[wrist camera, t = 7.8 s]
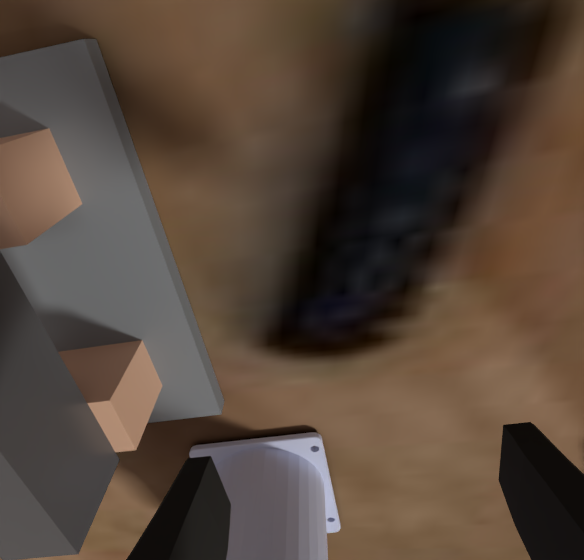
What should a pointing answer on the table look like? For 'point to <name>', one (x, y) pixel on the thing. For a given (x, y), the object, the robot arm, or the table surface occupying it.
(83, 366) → the display stand
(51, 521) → the dark gray bar
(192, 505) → the robot arm
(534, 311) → the table surface
